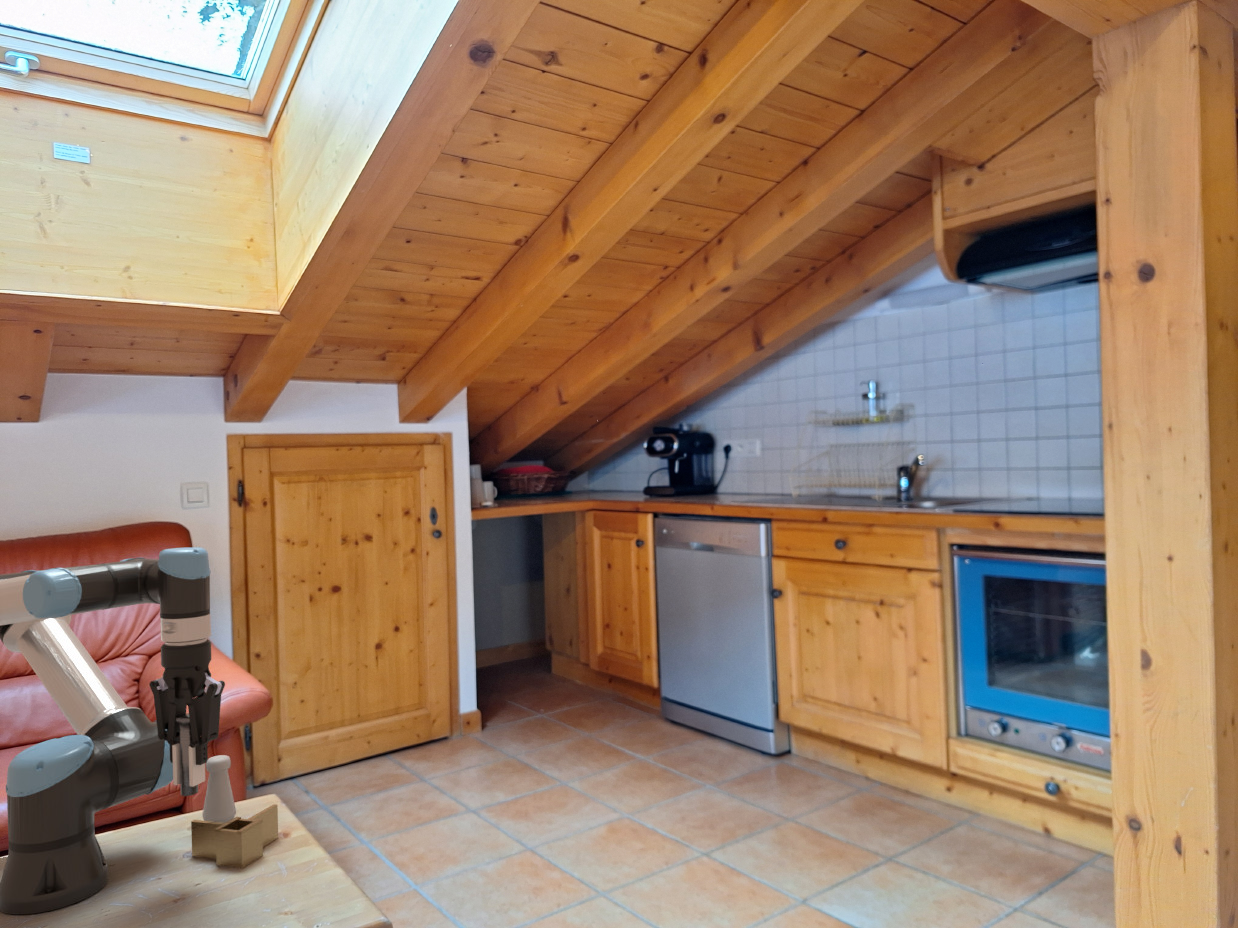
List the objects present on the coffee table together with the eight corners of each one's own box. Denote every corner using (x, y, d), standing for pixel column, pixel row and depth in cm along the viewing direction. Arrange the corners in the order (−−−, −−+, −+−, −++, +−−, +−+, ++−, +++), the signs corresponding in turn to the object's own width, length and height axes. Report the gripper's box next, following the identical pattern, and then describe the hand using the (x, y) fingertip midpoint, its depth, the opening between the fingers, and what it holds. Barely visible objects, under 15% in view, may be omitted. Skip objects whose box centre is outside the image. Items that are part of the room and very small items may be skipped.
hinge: (182, 861, 152) (181, 825, 152) (232, 832, 163) (231, 799, 163) (242, 868, 148) (241, 831, 148) (289, 838, 160) (288, 804, 160)
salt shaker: (196, 831, 165) (194, 761, 165) (215, 819, 170) (213, 751, 170) (224, 832, 164) (222, 762, 164) (242, 820, 169) (241, 752, 169)
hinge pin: (172, 795, 145) (170, 718, 145) (188, 788, 149) (186, 712, 149) (190, 797, 144) (188, 719, 144) (206, 789, 148) (204, 713, 148)
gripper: (129, 644, 145) (133, 787, 145) (208, 647, 141) (212, 794, 141) (165, 635, 152) (168, 771, 152) (241, 638, 148) (244, 778, 148)
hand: (189, 782), depth 147 cm, fingers closed on hinge pin, 2 cm apart
